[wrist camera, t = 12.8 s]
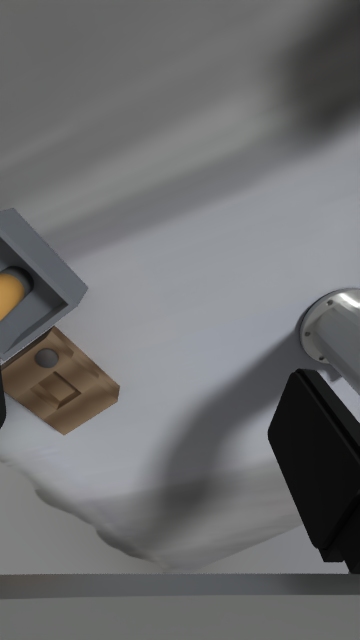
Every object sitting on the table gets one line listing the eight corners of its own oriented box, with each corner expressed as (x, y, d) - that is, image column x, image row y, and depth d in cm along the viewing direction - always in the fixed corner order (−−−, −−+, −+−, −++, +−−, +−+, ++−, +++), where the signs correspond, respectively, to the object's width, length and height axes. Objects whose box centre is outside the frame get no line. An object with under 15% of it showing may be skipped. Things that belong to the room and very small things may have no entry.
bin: (88, 287, 39) (77, 305, 34) (23, 337, 42) (4, 361, 36) (13, 208, 34) (-13, 214, 29) (-55, 269, 37) (-91, 286, 31)
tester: (119, 386, 47) (116, 404, 43) (69, 418, 49) (62, 438, 46) (54, 325, 41) (44, 340, 38) (1, 365, 44) (-13, 383, 40)
